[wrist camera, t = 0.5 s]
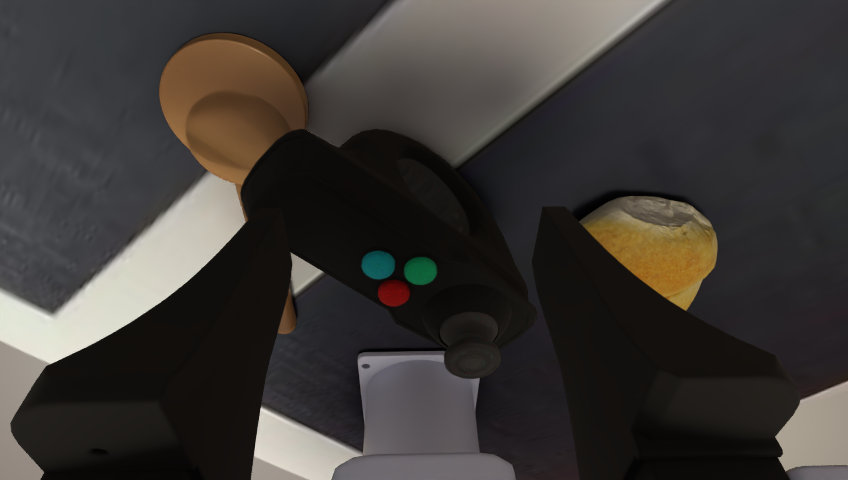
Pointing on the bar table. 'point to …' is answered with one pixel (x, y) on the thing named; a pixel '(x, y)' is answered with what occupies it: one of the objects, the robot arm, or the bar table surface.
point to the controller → (399, 238)
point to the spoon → (232, 108)
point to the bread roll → (657, 243)
